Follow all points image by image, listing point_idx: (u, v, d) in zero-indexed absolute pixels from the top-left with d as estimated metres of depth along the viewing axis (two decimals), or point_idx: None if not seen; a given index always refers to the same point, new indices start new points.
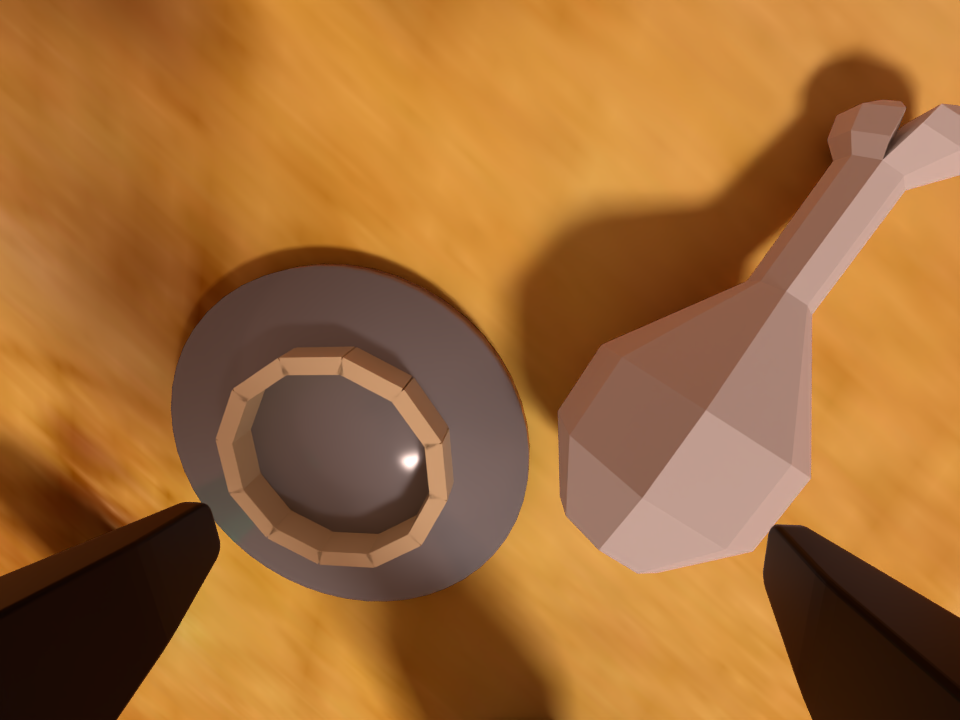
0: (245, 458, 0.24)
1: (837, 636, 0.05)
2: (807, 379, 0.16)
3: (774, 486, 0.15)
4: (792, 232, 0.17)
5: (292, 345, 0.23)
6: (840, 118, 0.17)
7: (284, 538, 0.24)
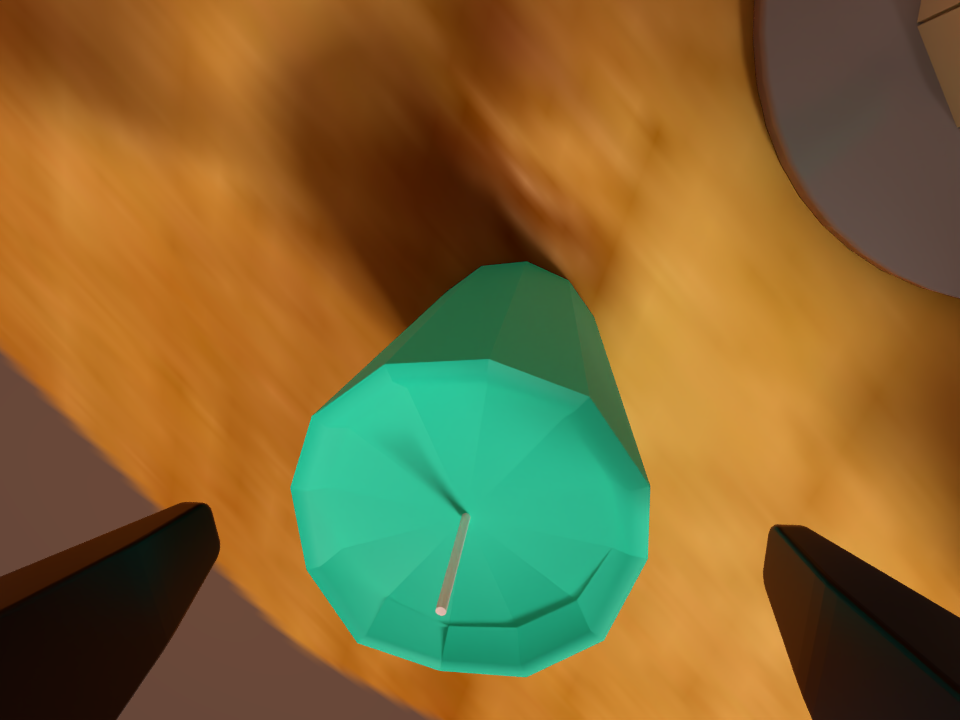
0: None
1: (837, 636, 0.05)
2: None
3: None
4: None
5: None
6: None
7: None
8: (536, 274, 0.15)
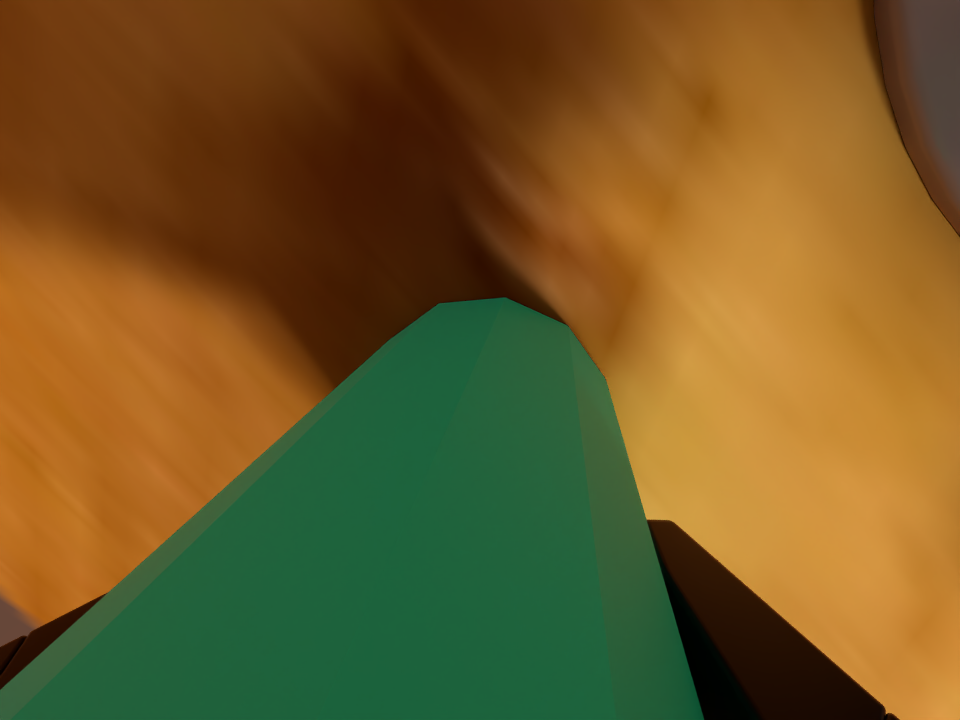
0: None
1: None
2: None
3: None
4: None
5: None
6: None
7: None
8: (517, 324, 0.09)
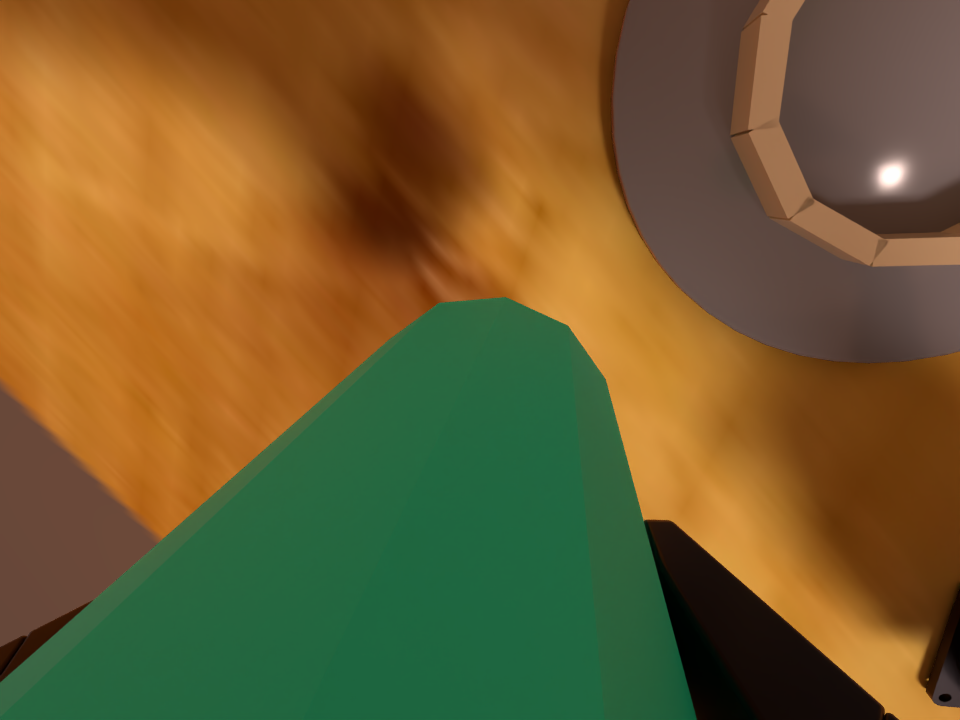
0: None
1: None
2: None
3: None
4: None
5: None
6: None
7: (822, 217, 0.15)
8: (516, 324, 0.10)
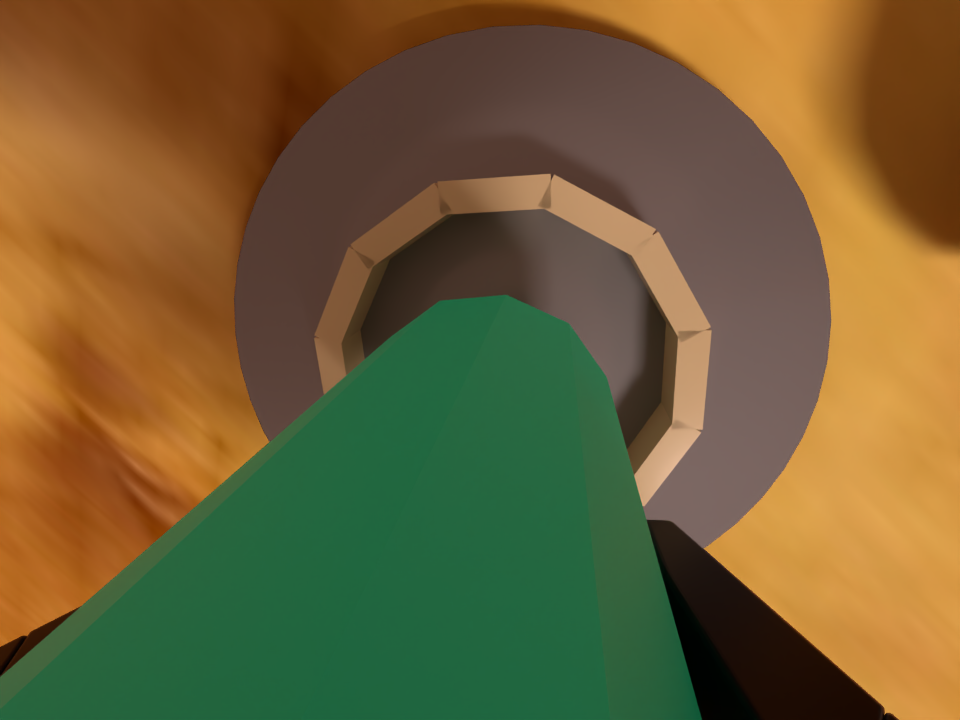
0: None
1: None
2: None
3: None
4: None
5: (442, 178, 0.14)
6: None
7: None
8: (517, 321, 0.09)
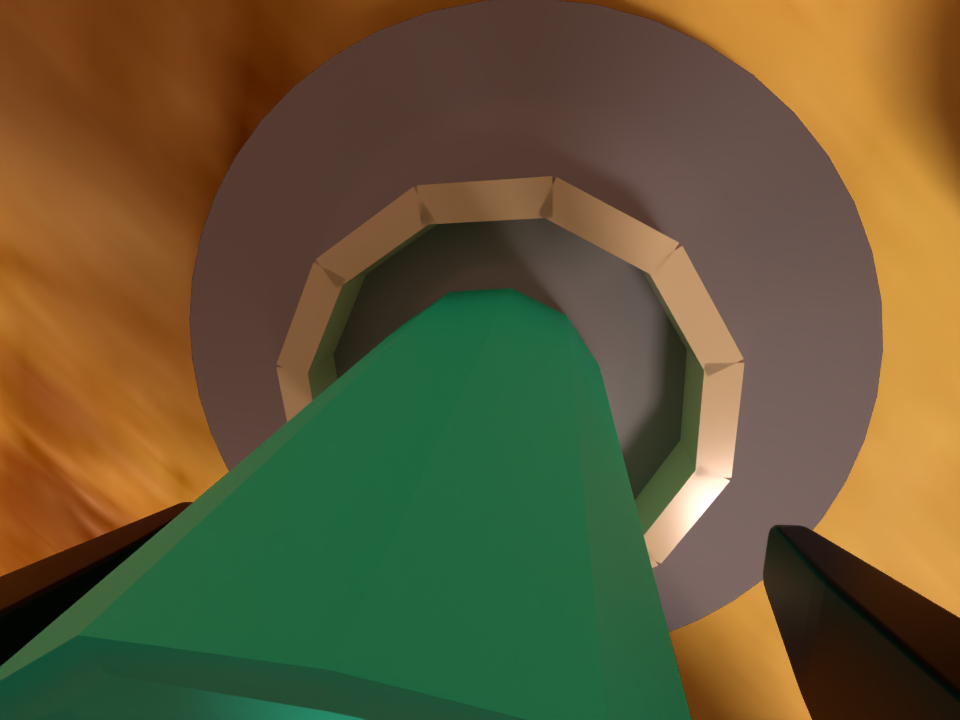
0: None
1: (837, 636, 0.05)
2: None
3: None
4: None
5: (425, 181, 0.12)
6: None
7: None
8: (521, 311, 0.11)
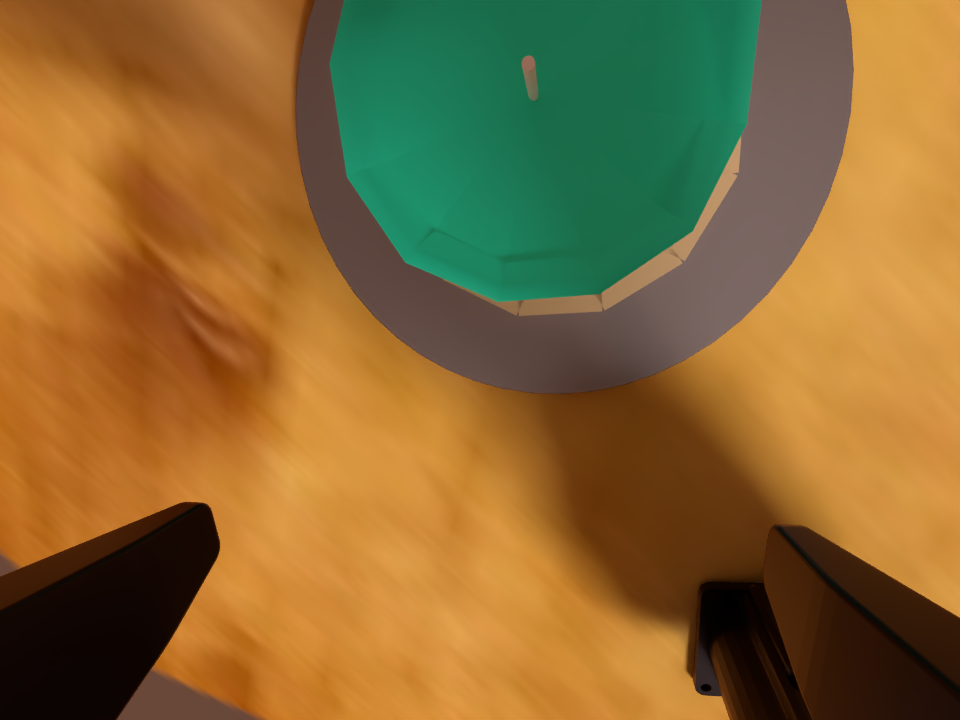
0: None
1: (837, 636, 0.05)
2: None
3: None
4: None
5: None
6: None
7: None
8: None
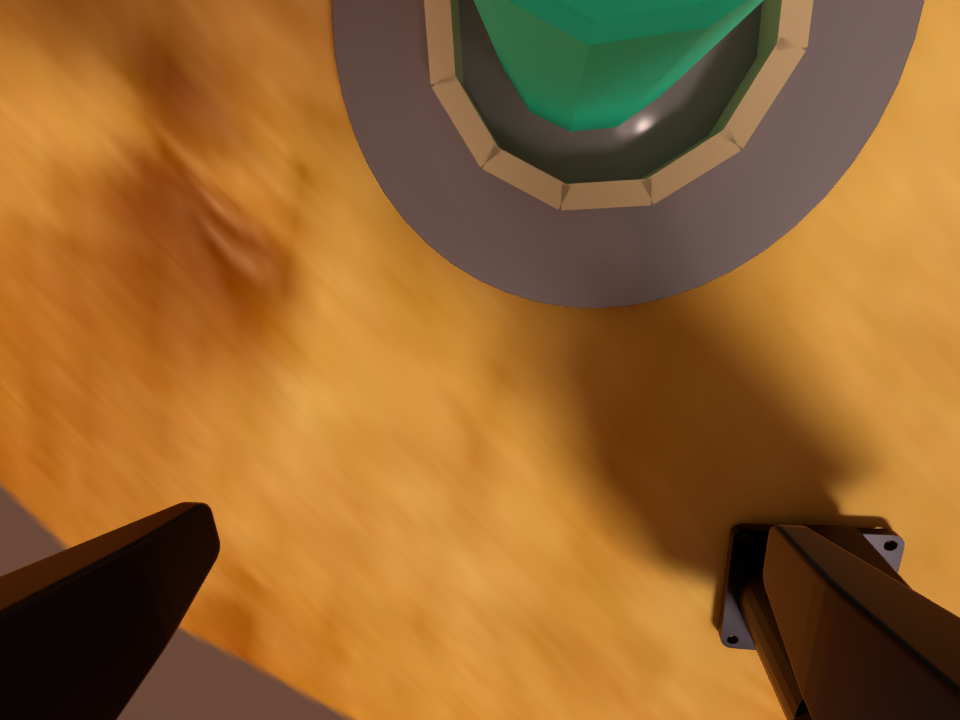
0: (456, 32, 0.15)
1: (837, 636, 0.05)
2: None
3: None
4: None
5: None
6: None
7: (509, 165, 0.16)
8: None
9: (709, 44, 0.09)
